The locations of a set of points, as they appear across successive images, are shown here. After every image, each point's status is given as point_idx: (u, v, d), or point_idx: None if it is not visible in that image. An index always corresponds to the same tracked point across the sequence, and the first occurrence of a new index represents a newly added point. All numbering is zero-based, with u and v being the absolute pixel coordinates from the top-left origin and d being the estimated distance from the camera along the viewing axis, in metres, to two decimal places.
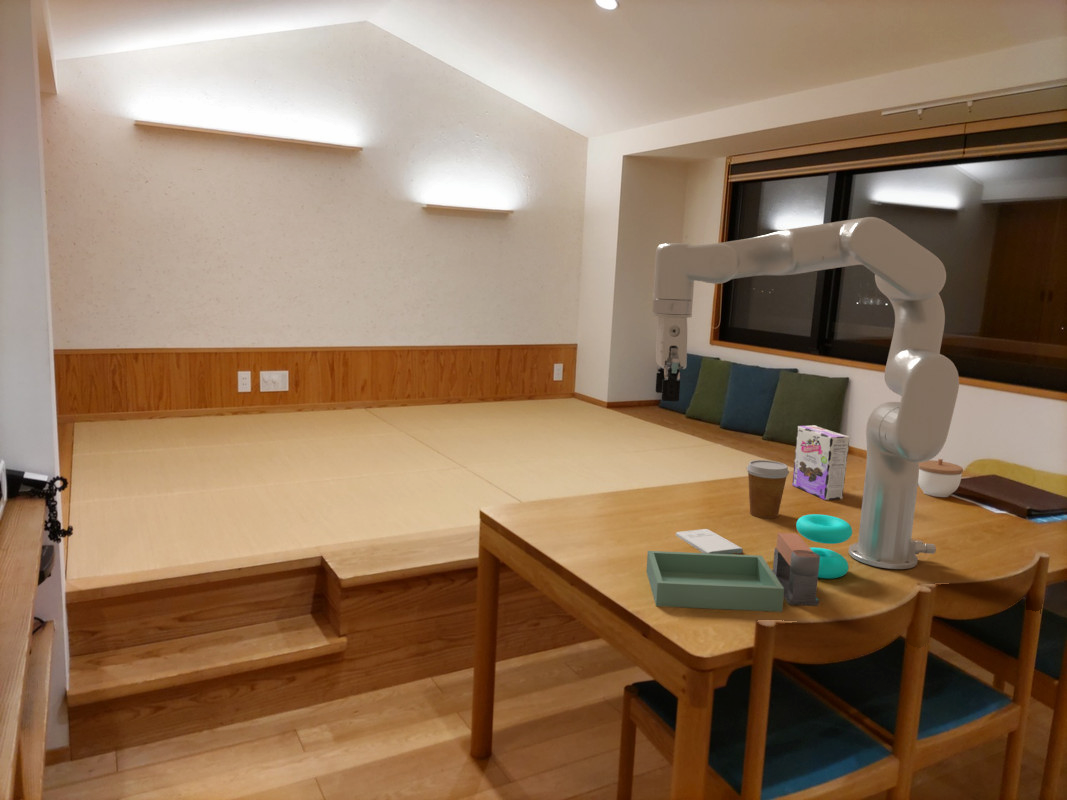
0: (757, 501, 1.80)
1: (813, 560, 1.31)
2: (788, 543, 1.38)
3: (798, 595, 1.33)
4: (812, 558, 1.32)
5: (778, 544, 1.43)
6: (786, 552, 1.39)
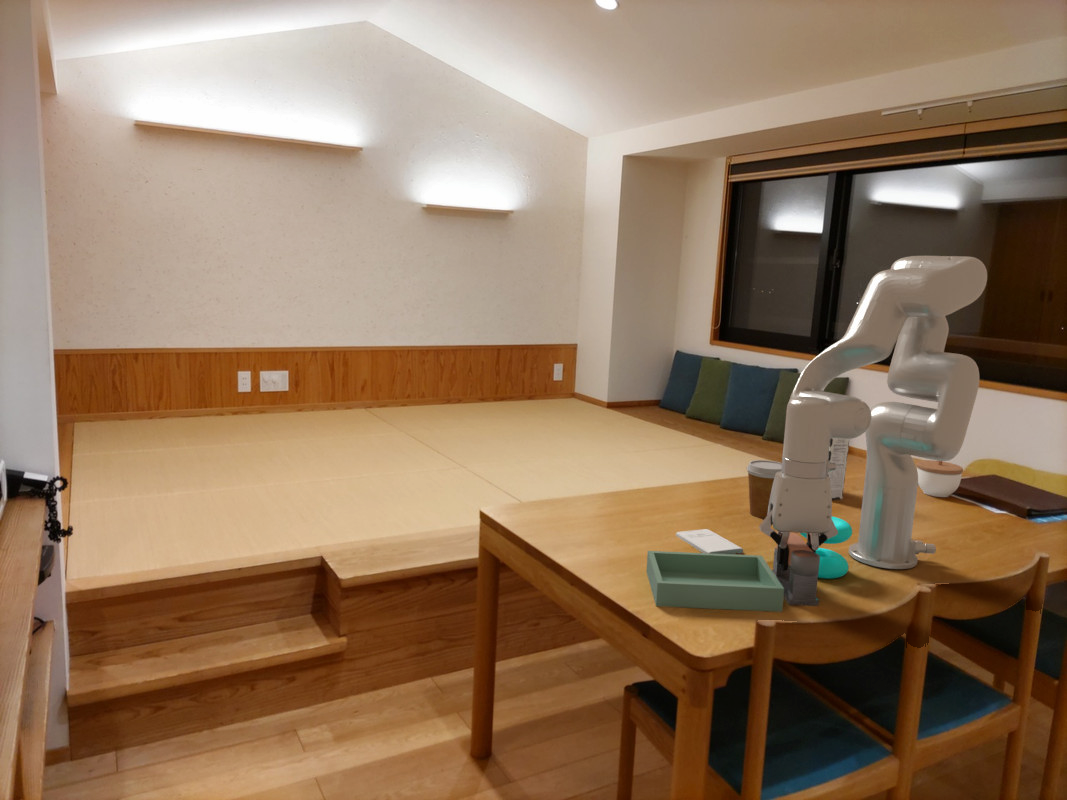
0: (757, 501, 1.80)
1: (813, 560, 1.31)
2: (788, 543, 1.38)
3: (798, 595, 1.33)
4: (812, 558, 1.32)
5: None
6: None
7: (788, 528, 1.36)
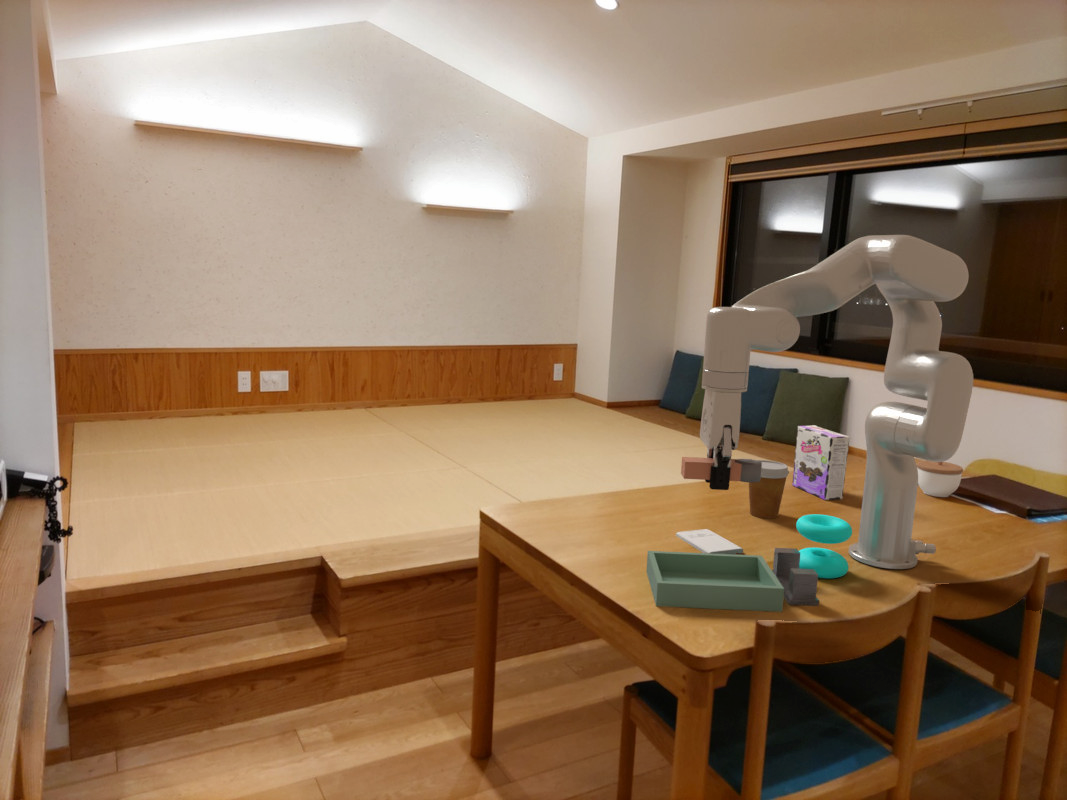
0: (757, 501, 1.80)
1: (760, 462, 1.34)
2: None
3: (798, 595, 1.33)
4: (756, 461, 1.35)
5: (690, 472, 1.33)
6: None
7: None
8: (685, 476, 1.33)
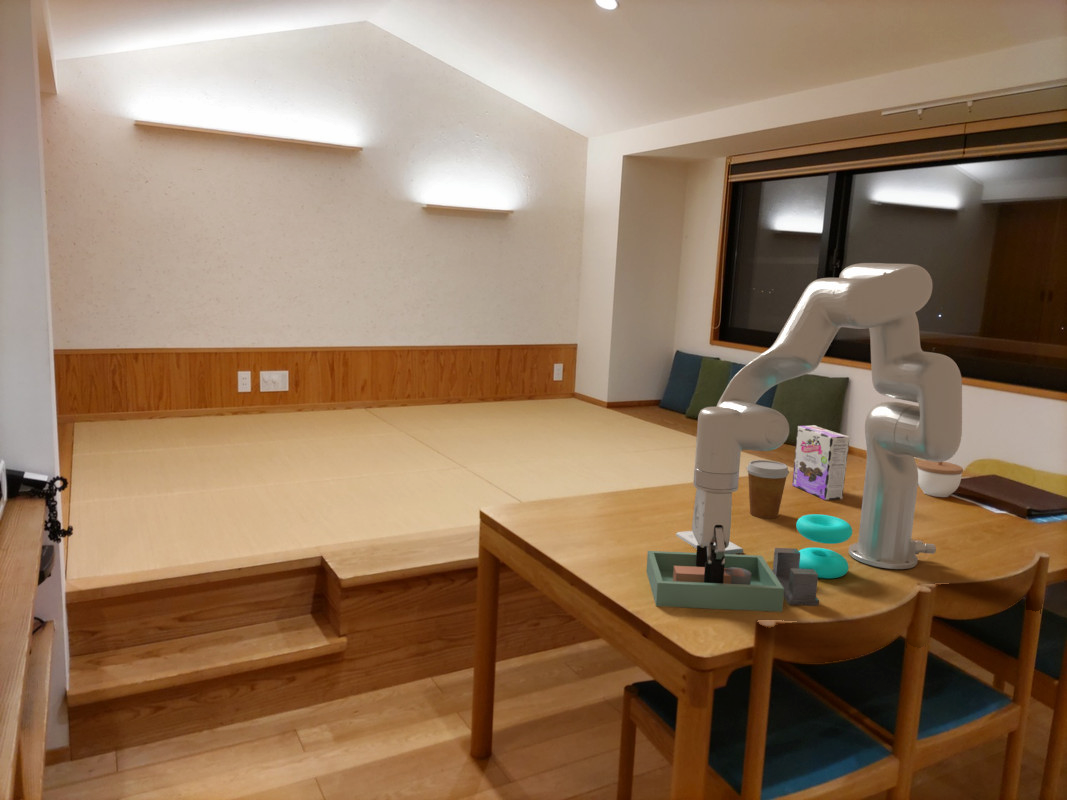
0: (757, 501, 1.80)
1: (749, 572, 1.38)
2: None
3: (798, 595, 1.33)
4: (746, 571, 1.38)
5: None
6: None
7: None
8: None
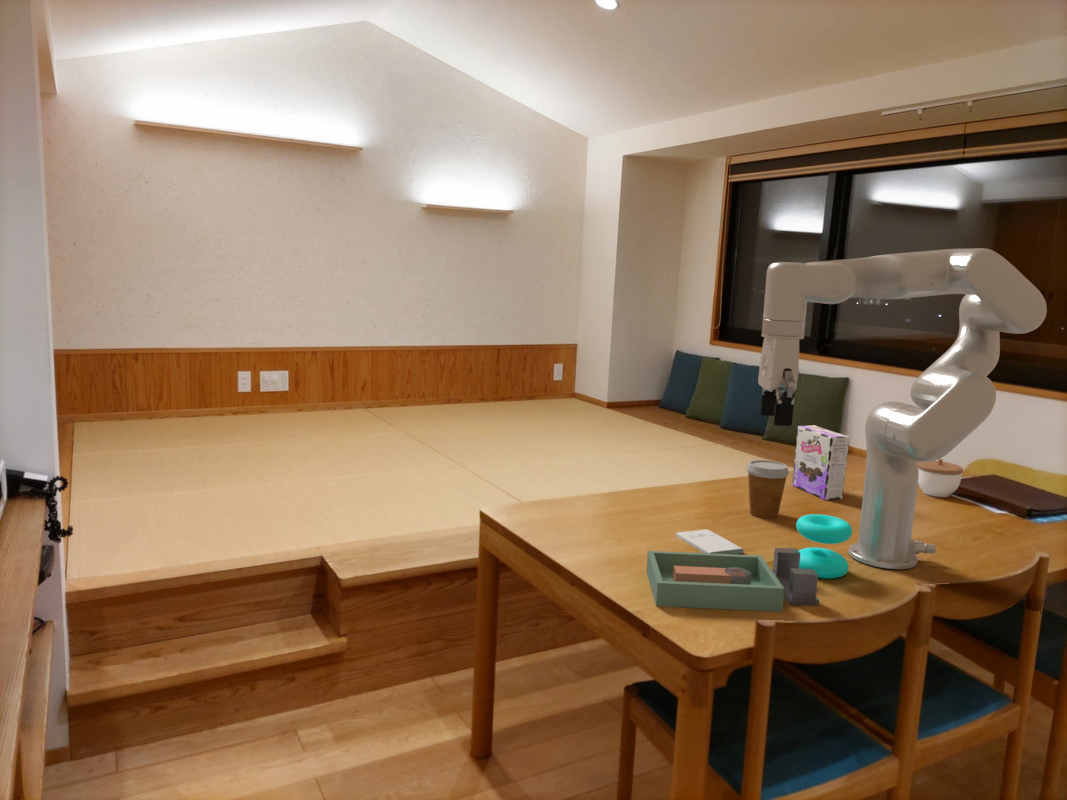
0: (757, 501, 1.80)
1: (749, 572, 1.38)
2: (709, 574, 1.36)
3: (798, 595, 1.33)
4: (746, 571, 1.38)
5: None
6: None
7: None
8: None
